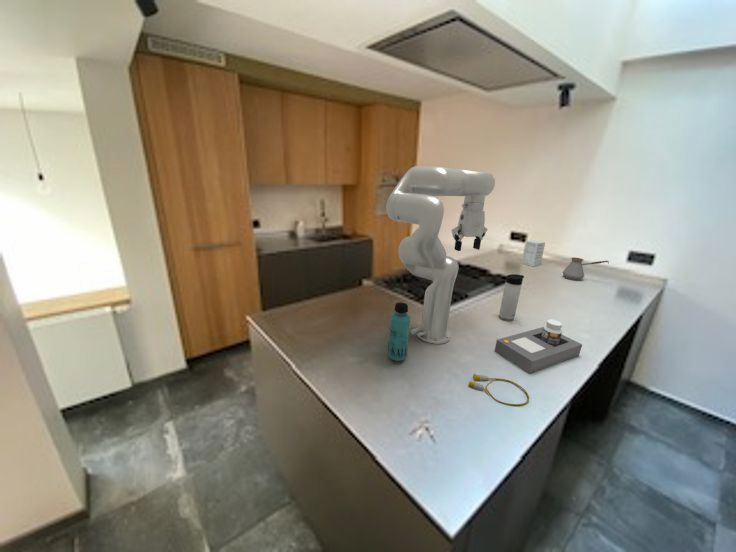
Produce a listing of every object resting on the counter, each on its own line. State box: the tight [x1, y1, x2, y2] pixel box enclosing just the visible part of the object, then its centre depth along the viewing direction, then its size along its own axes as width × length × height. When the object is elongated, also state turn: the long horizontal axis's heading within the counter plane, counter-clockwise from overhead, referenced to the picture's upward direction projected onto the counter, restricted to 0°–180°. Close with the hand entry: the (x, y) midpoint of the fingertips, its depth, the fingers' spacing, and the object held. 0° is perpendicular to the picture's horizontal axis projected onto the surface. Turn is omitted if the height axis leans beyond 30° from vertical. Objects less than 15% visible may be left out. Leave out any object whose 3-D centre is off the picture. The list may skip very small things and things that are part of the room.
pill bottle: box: [540, 319, 563, 347], centre depth 108 cm, size 6×6×10 cm
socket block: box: [494, 326, 583, 374], centre depth 107 cm, size 26×14×5 cm, turn 116°
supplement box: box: [520, 239, 546, 267], centre depth 216 cm, size 10×9×17 cm
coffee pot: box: [562, 256, 610, 281], centre depth 186 cm, size 21×12×15 cm, turn 46°
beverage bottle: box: [387, 302, 411, 362], centre depth 97 cm, size 6×7×20 cm
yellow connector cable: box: [468, 373, 530, 407], centre depth 88 cm, size 12×16×2 cm
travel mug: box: [498, 273, 525, 322], centre depth 130 cm, size 6×7×20 cm
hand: (466, 249), depth 124 cm, fingers open, 9 cm apart
